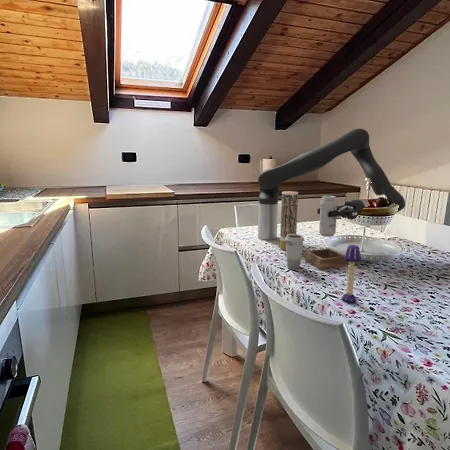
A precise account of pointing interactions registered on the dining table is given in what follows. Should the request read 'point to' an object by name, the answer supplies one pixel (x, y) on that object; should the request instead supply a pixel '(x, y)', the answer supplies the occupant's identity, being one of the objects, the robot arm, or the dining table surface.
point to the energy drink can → (327, 223)
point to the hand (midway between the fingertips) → (323, 212)
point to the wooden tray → (325, 259)
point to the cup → (294, 250)
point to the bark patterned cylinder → (288, 216)
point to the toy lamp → (351, 271)
